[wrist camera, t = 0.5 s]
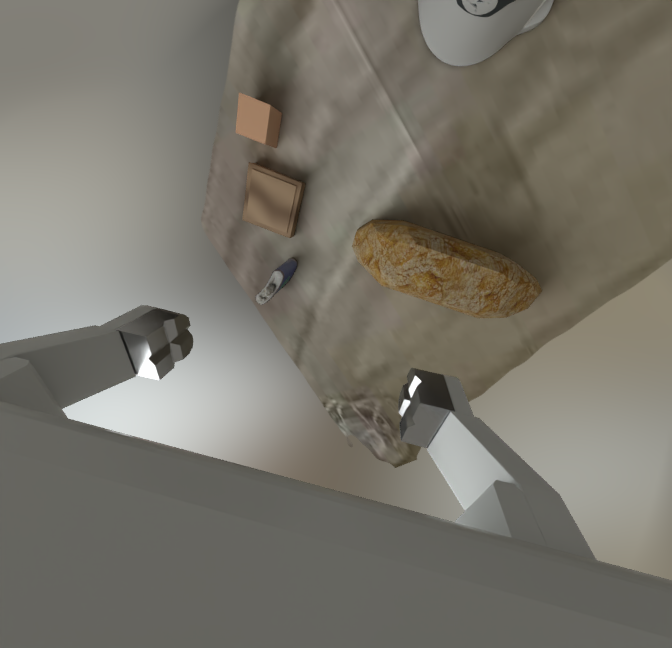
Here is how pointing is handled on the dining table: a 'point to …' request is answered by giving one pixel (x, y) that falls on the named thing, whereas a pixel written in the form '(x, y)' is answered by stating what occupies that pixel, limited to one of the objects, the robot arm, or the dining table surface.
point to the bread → (444, 269)
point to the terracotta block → (258, 120)
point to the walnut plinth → (272, 200)
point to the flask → (277, 281)
